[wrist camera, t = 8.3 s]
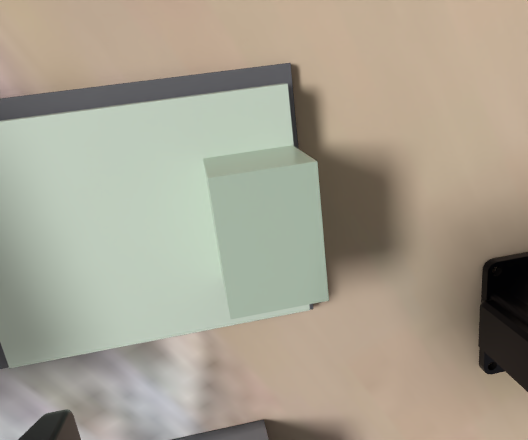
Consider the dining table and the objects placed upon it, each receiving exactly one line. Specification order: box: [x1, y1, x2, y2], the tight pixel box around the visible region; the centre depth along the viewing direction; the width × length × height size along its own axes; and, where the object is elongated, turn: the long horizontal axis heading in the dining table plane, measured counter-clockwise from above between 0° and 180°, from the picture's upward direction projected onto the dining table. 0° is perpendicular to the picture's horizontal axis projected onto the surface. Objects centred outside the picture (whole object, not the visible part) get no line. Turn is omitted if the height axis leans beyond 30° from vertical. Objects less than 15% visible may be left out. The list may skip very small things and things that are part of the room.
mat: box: [0, 63, 313, 369], centre depth 19 cm, size 14×11×1 cm
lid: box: [0, 83, 329, 369], centre depth 17 cm, size 13×10×5 cm
